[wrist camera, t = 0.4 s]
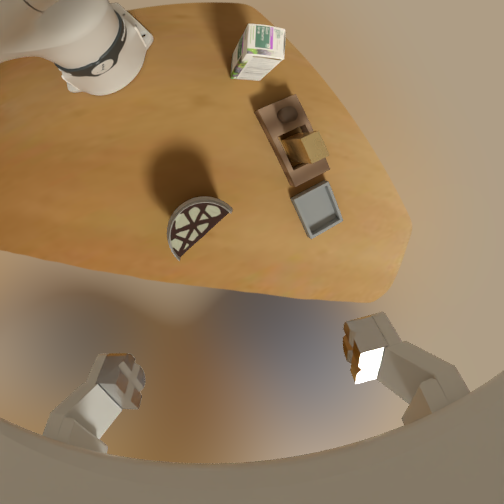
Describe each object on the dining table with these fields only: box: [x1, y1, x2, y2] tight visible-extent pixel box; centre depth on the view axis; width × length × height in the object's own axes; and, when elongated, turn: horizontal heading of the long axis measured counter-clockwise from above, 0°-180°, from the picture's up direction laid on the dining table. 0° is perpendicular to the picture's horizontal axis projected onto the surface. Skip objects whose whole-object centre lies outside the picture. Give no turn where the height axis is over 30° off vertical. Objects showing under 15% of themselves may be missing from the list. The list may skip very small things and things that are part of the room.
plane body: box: [254, 94, 330, 187], centre depth 46 cm, size 16×8×6 cm, turn 27°
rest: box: [290, 180, 343, 239], centre depth 54 cm, size 9×8×2 cm
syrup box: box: [231, 24, 285, 81], centre depth 35 cm, size 6×6×14 cm
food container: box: [167, 196, 233, 261], centre depth 45 cm, size 12×6×10 cm, turn 130°
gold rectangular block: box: [281, 131, 329, 164], centre depth 45 cm, size 4×4×10 cm
